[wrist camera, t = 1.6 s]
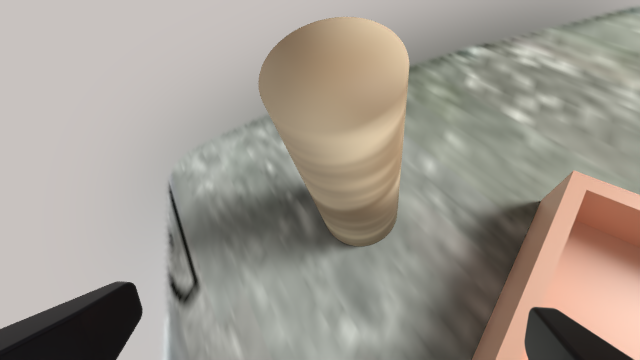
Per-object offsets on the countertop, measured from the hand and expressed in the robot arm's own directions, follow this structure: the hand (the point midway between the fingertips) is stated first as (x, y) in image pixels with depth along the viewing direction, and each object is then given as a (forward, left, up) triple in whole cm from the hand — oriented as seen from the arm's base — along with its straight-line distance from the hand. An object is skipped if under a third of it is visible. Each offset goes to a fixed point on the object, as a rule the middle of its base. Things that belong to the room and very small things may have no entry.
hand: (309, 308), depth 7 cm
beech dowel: (+6, +5, -13) cm, 15 cm away
